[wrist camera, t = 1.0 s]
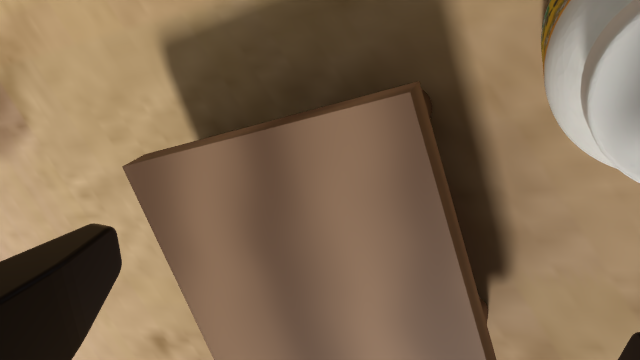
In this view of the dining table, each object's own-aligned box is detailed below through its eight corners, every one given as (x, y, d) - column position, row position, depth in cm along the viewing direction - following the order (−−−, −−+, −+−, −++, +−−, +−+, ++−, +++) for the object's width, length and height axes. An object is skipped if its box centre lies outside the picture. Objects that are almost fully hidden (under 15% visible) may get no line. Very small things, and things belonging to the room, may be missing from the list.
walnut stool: (434, 63, 20) (410, 91, 16) (505, 334, 23) (500, 410, 20) (183, 133, 26) (122, 166, 22) (272, 341, 29) (233, 400, 26)
